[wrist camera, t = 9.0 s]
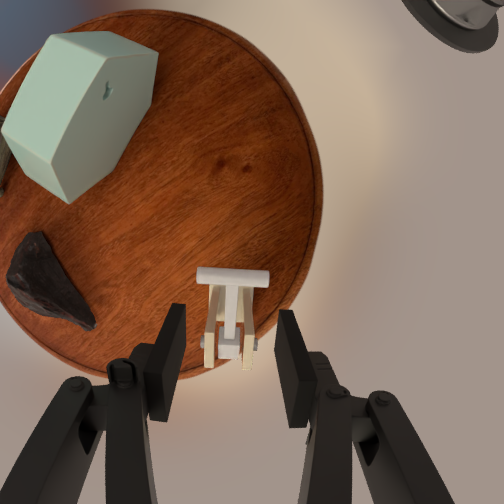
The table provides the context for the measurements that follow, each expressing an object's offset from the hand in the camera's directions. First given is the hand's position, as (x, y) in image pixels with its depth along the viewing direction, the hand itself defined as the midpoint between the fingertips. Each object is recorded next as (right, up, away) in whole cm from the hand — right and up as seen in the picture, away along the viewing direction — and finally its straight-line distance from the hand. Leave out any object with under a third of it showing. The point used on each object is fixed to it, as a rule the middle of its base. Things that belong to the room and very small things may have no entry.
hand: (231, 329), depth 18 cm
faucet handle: (-1, -1, +14) cm, 14 cm away
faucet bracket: (-2, -2, +27) cm, 27 cm away
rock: (-28, +1, +25) cm, 38 cm away
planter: (-18, +22, +20) cm, 35 cm away
